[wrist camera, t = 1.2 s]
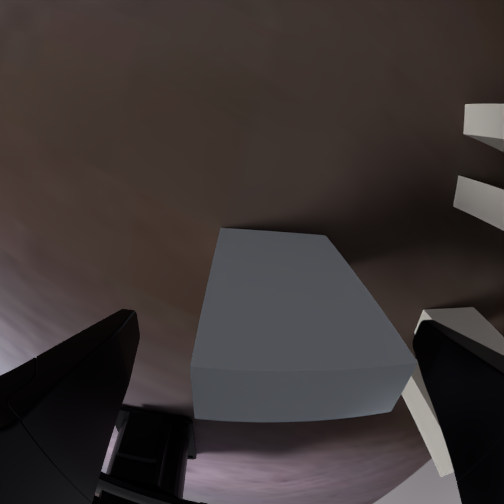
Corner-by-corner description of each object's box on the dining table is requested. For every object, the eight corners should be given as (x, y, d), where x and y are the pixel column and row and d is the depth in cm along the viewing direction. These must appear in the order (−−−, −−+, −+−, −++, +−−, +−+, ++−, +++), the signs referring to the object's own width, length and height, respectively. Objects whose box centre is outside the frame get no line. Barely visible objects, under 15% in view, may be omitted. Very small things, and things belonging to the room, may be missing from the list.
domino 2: (442, 370, 18) (493, 452, 10) (393, 378, 18) (440, 477, 10) (451, 353, 18) (508, 435, 9) (402, 360, 17) (457, 461, 9)
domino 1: (319, 269, 15) (390, 411, 6) (219, 263, 14) (194, 418, 6) (325, 235, 14) (417, 362, 6) (220, 227, 14) (190, 366, 5)
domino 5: (463, 327, 17) (530, 409, 9) (414, 332, 17) (482, 435, 8) (473, 306, 16) (547, 386, 8) (423, 309, 16) (502, 410, 8)
